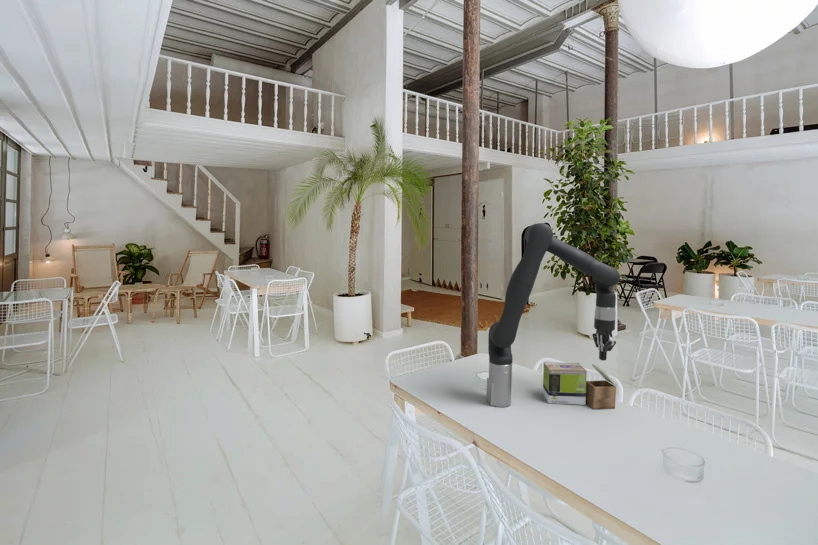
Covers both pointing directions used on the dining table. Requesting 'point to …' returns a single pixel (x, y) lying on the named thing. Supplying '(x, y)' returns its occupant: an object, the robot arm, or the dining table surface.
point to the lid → (604, 375)
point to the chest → (600, 394)
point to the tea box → (564, 383)
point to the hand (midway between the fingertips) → (602, 359)
